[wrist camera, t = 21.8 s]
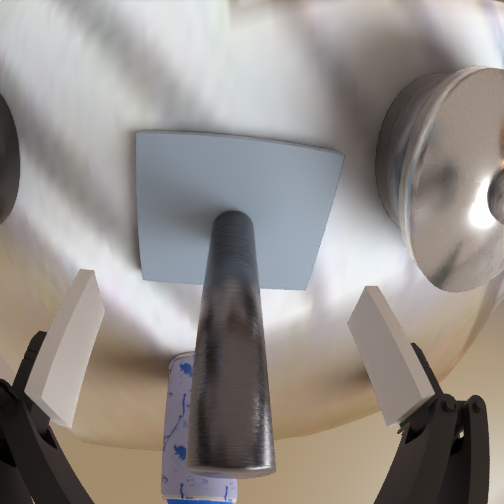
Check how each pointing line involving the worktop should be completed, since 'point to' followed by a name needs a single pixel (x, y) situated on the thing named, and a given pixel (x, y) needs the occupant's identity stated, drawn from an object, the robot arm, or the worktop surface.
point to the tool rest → (231, 202)
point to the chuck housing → (400, 138)
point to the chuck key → (230, 362)
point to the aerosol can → (175, 443)
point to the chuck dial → (457, 182)
